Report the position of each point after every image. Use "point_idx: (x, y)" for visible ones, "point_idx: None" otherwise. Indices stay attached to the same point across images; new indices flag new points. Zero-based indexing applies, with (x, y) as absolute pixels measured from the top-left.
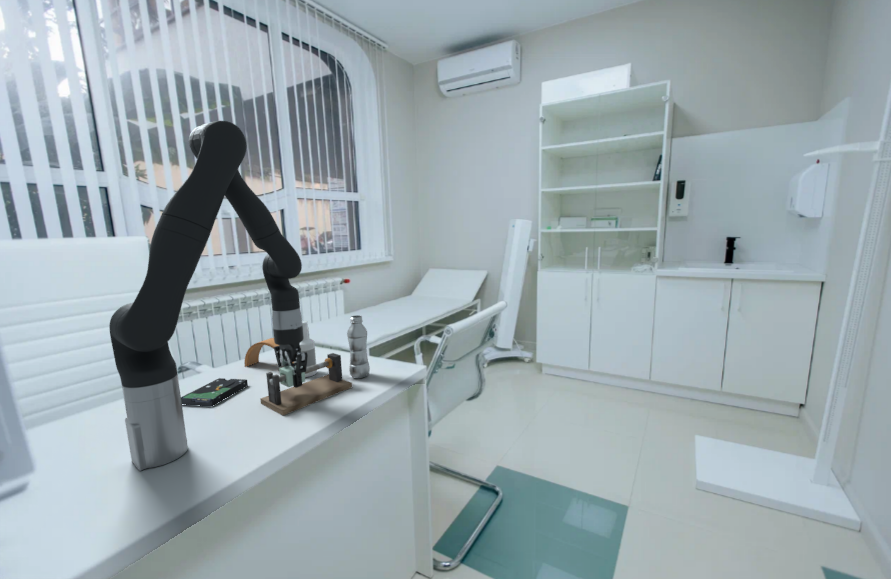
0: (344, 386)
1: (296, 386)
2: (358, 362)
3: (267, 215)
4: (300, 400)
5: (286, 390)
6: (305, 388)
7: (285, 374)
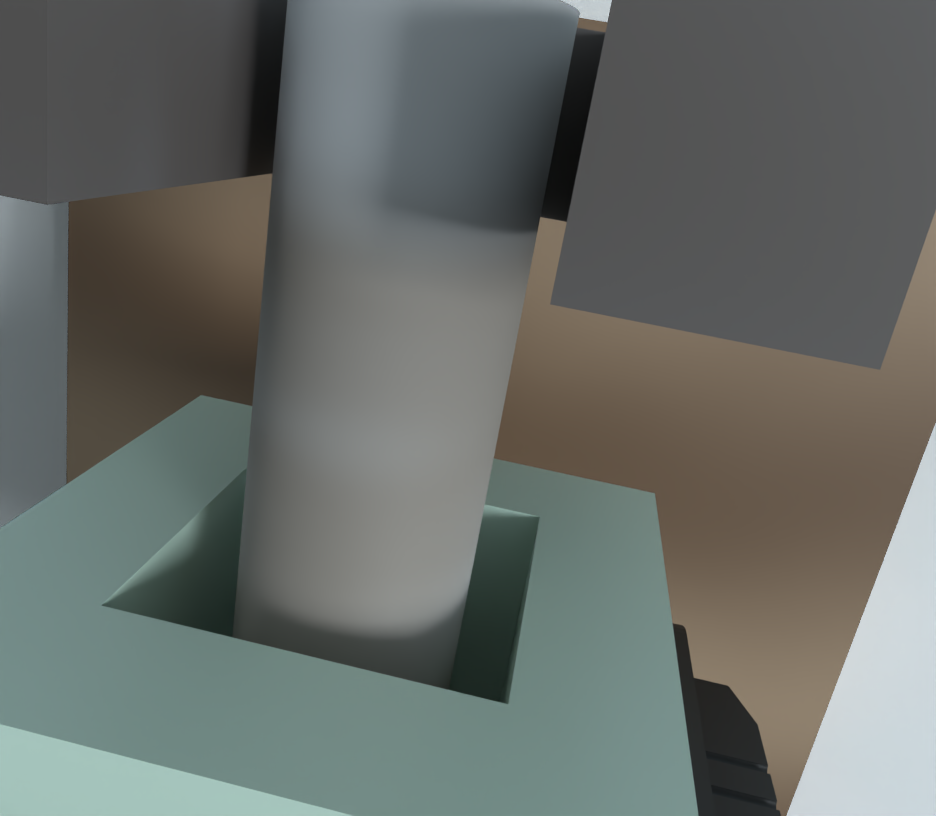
0: None
1: None
2: None
3: None
4: (158, 394)
5: (793, 617)
6: None
7: (126, 614)
